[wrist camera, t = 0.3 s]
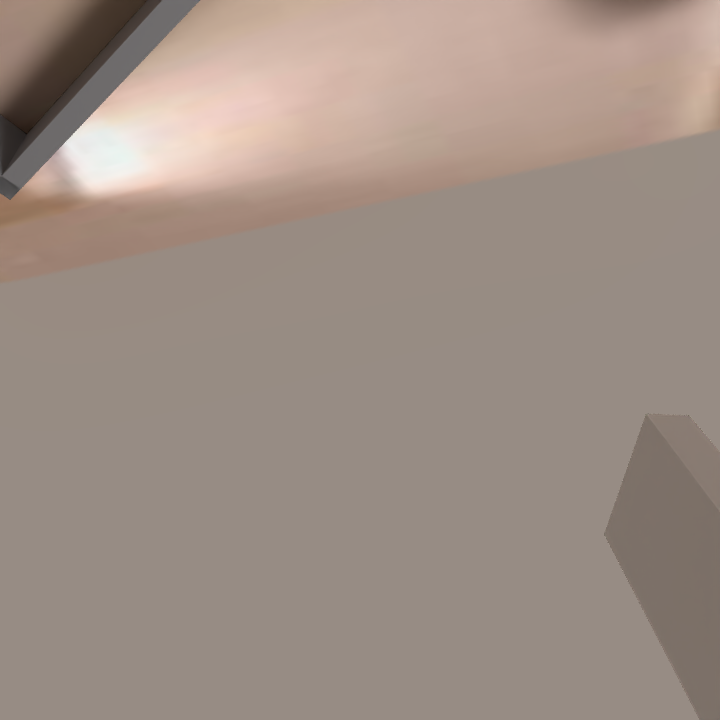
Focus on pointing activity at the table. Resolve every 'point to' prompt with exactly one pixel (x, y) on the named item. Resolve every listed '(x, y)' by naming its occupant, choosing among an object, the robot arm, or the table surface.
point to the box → (85, 93)
